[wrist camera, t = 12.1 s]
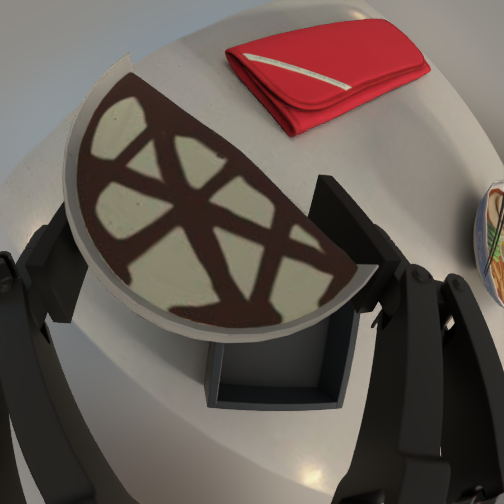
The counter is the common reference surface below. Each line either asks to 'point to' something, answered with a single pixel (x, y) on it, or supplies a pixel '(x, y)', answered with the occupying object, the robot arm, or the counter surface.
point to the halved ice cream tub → (192, 222)
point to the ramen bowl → (491, 241)
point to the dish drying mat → (326, 69)
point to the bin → (285, 368)
